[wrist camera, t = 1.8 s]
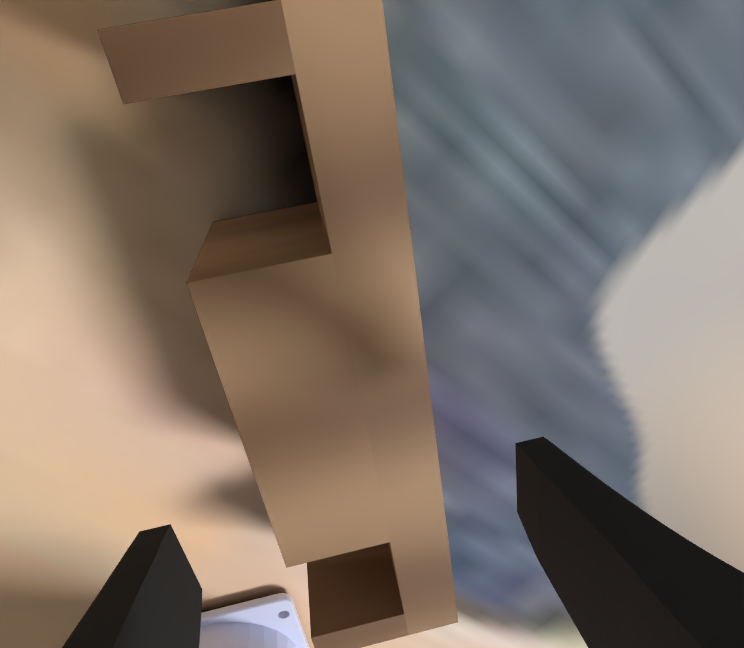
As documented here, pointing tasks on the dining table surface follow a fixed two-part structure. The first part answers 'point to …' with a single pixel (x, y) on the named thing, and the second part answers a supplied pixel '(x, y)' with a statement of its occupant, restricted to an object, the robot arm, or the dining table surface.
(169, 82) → the wooden notched bar
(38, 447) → the dining table surface
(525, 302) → the dining table surface
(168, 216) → the dining table surface
